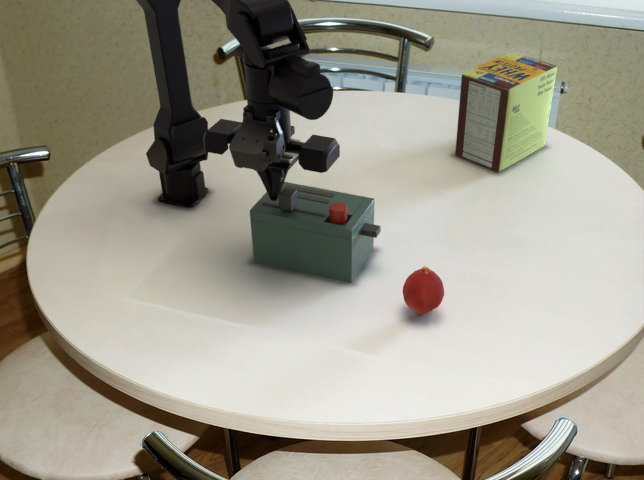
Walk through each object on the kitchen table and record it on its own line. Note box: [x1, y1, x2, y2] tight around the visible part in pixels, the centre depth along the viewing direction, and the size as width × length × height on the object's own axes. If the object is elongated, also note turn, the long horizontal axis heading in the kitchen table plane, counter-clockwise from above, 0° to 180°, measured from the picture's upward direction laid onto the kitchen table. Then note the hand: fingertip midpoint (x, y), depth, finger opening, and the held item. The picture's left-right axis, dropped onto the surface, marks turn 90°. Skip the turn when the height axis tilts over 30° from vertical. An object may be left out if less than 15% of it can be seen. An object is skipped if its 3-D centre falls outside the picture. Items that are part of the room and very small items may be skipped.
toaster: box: [249, 181, 382, 284], centre depth 129 cm, size 18×10×9 cm, turn 71°
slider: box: [278, 188, 298, 212], centre depth 125 cm, size 2×2×2 cm
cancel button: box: [329, 202, 347, 225], centre depth 123 cm, size 3×3×2 cm
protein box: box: [454, 51, 558, 173], centre depth 156 cm, size 10×15×16 cm
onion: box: [402, 265, 445, 316], centre depth 119 cm, size 6×6×8 cm
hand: (274, 199), depth 125 cm, fingers closed
